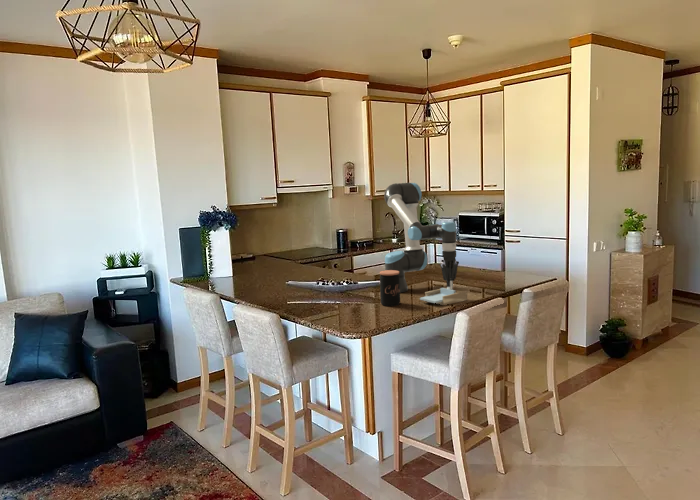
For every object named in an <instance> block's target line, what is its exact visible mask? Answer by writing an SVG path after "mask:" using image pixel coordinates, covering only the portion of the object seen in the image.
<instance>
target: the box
mask: <svg viewBox="0 0 700 500" xmlns="http://www.w3.org/2000/svg"><path fill="white" fill-rule="evenodd" d="M445 288H446V289H447V287H445ZM438 293H440V288H439V289H433V290H429V291H425V292H424V297H426V296H430V295H434V294H438ZM464 301H468V291H467V290H464V291H458V292H456V293H454V294H450V295H446V296H443V301H442V302H438V303H436V304H437V305H439V304H440V305H439V306H443V305H445V306H447V304H449V305H452V304H457V303H461V302H464ZM426 302H427V303H429V302H428V301H426ZM430 303H431V304H433V303H432V302H430Z"/></svg>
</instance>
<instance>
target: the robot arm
mask: <svg viewBox="0 0 700 500" xmlns="http://www.w3.org/2000/svg"><path fill="white" fill-rule="evenodd" d="M422 195H423V193H422V189H421V187H420V186H419V184H418V183H416V182H402V183H392V184H390V185H389V186H387V187H386V189H385V190H384V195H383V196H384V197H383V199H384V201H385V203H386V205H387V206H388V207H389V208H392V210H393V211H394V212H395V214H396V216H397V217H398V218H399V219H400V221H401V222H402V223H403V230H404V231H403V232H404V238H405V239H404V240H405V241H404V242H405V247H404V249H403V250H402V251H401V250H397V251H396V250H395V251H391V252H388V253H386V255H385V256H384V269H385V270H396V271H399V276H400V294H401V293H406V292H408V291H409V287H408V283H407V281H406V277H405V273H407V272H408V273H410V272H418V271H422V270H424V269H425V268H426V267H427V265H428V260H429V259H428V254H427V253H426V251H424V249H423V247H422V246H421V244H420V241H422V240H430V239H441V243H442V244H441V245H442V247H441V249H442V254H441V255H442V258H443V259H442V263H439V266H440V268H441V273H442V280H443V281H446V288H447V289H451V290H454V289H453V287H454V281H455V280H456V279H457V273H458V267H459V264H460V262H459V260H458V261H457V260H456V257H457V228H456V227H457V225H456V222H454V221H443V222H442V223H441V224H438V223H432V224H429V225H422V223H421V222H420V221H419V220H418V212H417V209H418V208H417V207H418V206H419V202H420V201H421V200H422ZM385 270H384V271H385Z"/></svg>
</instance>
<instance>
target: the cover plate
mask: <svg viewBox="0 0 700 500" xmlns="http://www.w3.org/2000/svg"><path fill="white" fill-rule="evenodd" d="M446 288H447V287H439V289H440V293H438V294H434V295H430V296H426V297H425V296H422V297H419V300H420V301H424V302H427V301H428V302H427V303H431V302H432V303H431V304H435V303H438V302H442V301H443V296H446V295H450V294H454V293H457V291H456V290H455V289H453V290H451V289H446Z"/></svg>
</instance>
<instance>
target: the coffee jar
mask: <svg viewBox="0 0 700 500" xmlns="http://www.w3.org/2000/svg"><path fill="white" fill-rule="evenodd" d="M379 289H380V290H379V292H380V295H379V296H380V303H381V305H382V306H384V307H397V306H399V305H400V303H401V293H400V276H399V271H396V270H381V271H379Z"/></svg>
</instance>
